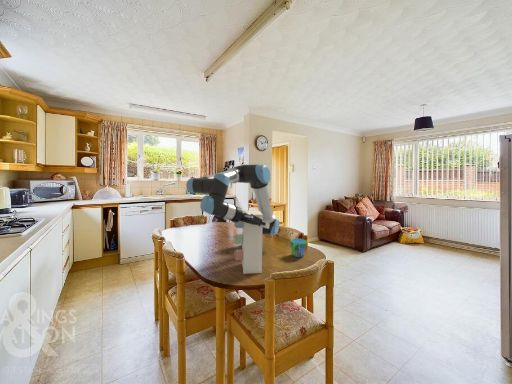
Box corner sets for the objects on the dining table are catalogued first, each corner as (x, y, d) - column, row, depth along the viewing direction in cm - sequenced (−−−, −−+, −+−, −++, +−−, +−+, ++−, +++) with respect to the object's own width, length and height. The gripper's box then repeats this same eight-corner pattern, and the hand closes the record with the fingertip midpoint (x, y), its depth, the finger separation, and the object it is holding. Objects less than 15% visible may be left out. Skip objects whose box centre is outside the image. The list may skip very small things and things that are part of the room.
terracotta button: (242, 256, 129) (242, 249, 129) (243, 259, 125) (243, 252, 124) (234, 257, 129) (234, 249, 128) (234, 260, 124) (234, 252, 124)
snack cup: (299, 260, 140) (299, 244, 139) (284, 256, 146) (285, 241, 146) (310, 254, 152) (311, 239, 151) (296, 250, 158) (297, 236, 158)
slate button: (242, 226, 128) (242, 218, 128) (243, 227, 123) (243, 220, 123) (234, 226, 127) (234, 218, 127) (234, 228, 123) (234, 220, 123)
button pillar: (258, 262, 135) (259, 210, 133) (261, 272, 122) (262, 214, 119) (242, 263, 134) (242, 210, 132) (243, 273, 120) (244, 214, 118)
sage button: (242, 241, 128) (242, 234, 128) (243, 243, 124) (243, 236, 124) (234, 241, 128) (234, 234, 128) (234, 244, 124) (234, 236, 123)
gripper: (223, 221, 111) (259, 232, 124) (237, 220, 101) (275, 233, 114) (227, 206, 114) (262, 219, 126) (241, 204, 104) (277, 218, 116)
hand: (268, 226), depth 120 cm, fingers closed
